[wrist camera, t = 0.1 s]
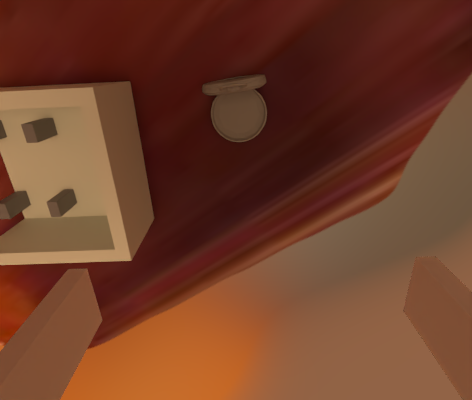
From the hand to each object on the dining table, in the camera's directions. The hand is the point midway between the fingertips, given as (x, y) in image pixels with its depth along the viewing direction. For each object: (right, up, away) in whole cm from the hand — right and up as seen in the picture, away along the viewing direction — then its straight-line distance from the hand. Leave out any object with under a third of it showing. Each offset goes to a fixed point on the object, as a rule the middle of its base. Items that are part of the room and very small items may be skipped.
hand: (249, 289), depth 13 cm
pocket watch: (0, +15, +24) cm, 29 cm away
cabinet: (-21, +9, +27) cm, 35 cm away
